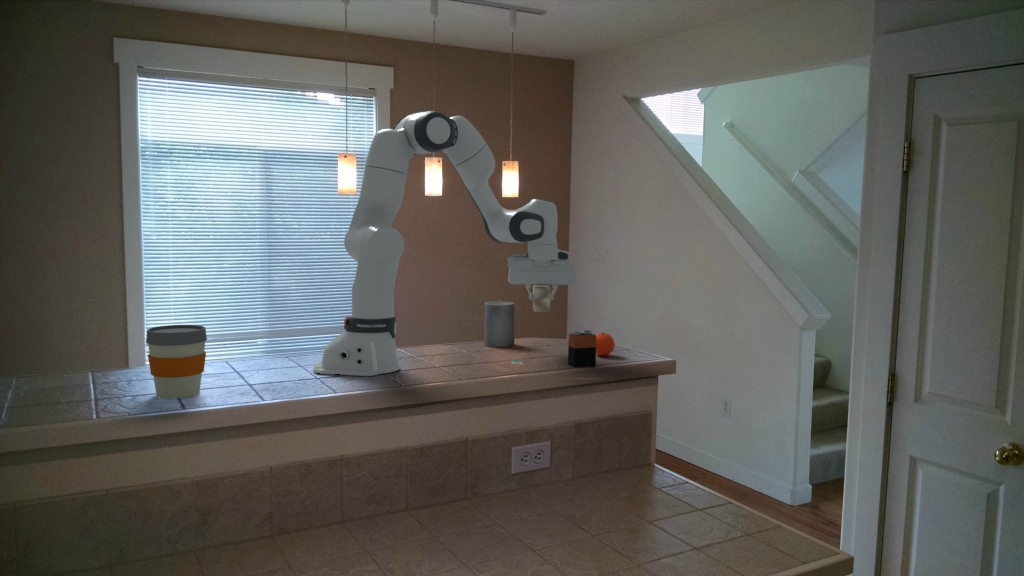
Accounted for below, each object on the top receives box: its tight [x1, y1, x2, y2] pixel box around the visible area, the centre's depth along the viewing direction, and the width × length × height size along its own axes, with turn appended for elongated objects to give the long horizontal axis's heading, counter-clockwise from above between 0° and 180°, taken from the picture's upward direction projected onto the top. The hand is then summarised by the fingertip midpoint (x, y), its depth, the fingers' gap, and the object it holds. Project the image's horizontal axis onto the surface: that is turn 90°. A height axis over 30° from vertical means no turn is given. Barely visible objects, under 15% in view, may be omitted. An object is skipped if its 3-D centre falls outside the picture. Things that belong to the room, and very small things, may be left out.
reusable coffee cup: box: [145, 324, 208, 400], centre depth 171 cm, size 13×13×15 cm
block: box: [532, 285, 551, 313], centre depth 228 cm, size 4×8×7 cm, turn 3°
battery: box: [567, 329, 597, 368], centre depth 211 cm, size 4×7×10 cm, turn 113°
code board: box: [510, 359, 523, 365], centre depth 214 cm, size 13×12×1 cm
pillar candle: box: [483, 299, 515, 348], centre depth 243 cm, size 10×10×15 cm
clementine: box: [595, 331, 616, 357], centre depth 228 cm, size 8×7×7 cm
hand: (541, 299), depth 228 cm, fingers closed on block, 4 cm apart
